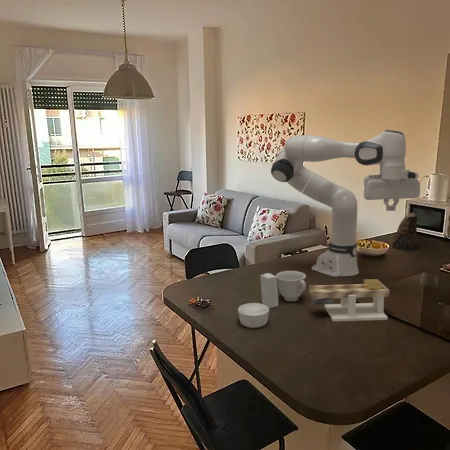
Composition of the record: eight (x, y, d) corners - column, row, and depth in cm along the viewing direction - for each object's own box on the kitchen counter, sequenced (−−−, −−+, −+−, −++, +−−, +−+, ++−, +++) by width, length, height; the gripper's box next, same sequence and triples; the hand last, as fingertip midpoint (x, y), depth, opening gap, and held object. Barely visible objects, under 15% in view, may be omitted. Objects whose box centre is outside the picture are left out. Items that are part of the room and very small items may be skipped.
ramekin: (260, 332, 138) (260, 317, 137) (232, 325, 144) (231, 311, 143) (274, 319, 147) (274, 305, 146) (247, 314, 153) (247, 300, 152)
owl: (410, 245, 240) (411, 211, 236) (424, 250, 228) (426, 214, 224) (390, 247, 238) (392, 213, 234) (404, 252, 226) (406, 216, 222)
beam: (312, 305, 145) (312, 292, 144) (308, 297, 153) (308, 285, 152) (389, 303, 145) (390, 290, 144) (381, 295, 153) (381, 283, 152)
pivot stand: (332, 321, 144) (333, 297, 142) (324, 307, 156) (324, 285, 155) (387, 319, 143) (388, 295, 142) (374, 305, 156) (375, 283, 154)
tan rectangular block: (367, 292, 146) (367, 283, 145) (363, 288, 150) (363, 279, 149) (381, 292, 146) (381, 282, 145) (377, 288, 150) (377, 279, 149)
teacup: (292, 309, 156) (292, 284, 154) (270, 297, 169) (269, 274, 167) (317, 302, 161) (317, 278, 159) (294, 291, 174) (294, 268, 172)
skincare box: (278, 306, 159) (278, 276, 157) (269, 308, 157) (268, 278, 155) (270, 301, 165) (269, 272, 162) (260, 303, 163) (260, 274, 160)
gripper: (367, 176, 151) (366, 213, 154) (423, 173, 150) (421, 210, 153) (361, 174, 157) (360, 210, 160) (415, 172, 157) (413, 208, 159)
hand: (390, 210), depth 156 cm, fingers closed
